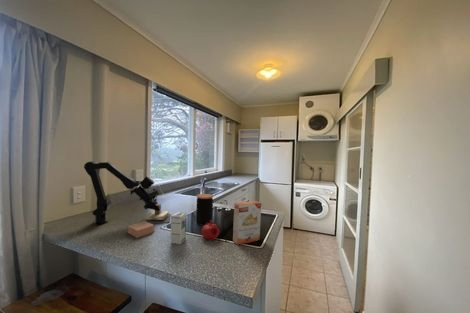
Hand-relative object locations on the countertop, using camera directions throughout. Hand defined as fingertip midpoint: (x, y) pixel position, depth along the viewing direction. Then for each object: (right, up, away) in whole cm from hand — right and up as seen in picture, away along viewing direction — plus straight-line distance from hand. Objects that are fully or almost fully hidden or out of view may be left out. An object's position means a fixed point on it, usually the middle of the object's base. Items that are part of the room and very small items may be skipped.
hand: (159, 209), depth 134 cm
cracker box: (+57, -10, -27) cm, 64 cm away
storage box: (-3, -7, -21) cm, 23 cm away
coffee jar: (+31, -8, -3) cm, 32 cm away
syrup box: (+21, -9, -30) cm, 38 cm away
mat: (-1, -7, 0) cm, 7 cm away
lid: (-1, -5, 0) cm, 5 cm away
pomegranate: (+37, -9, -25) cm, 46 cm away
